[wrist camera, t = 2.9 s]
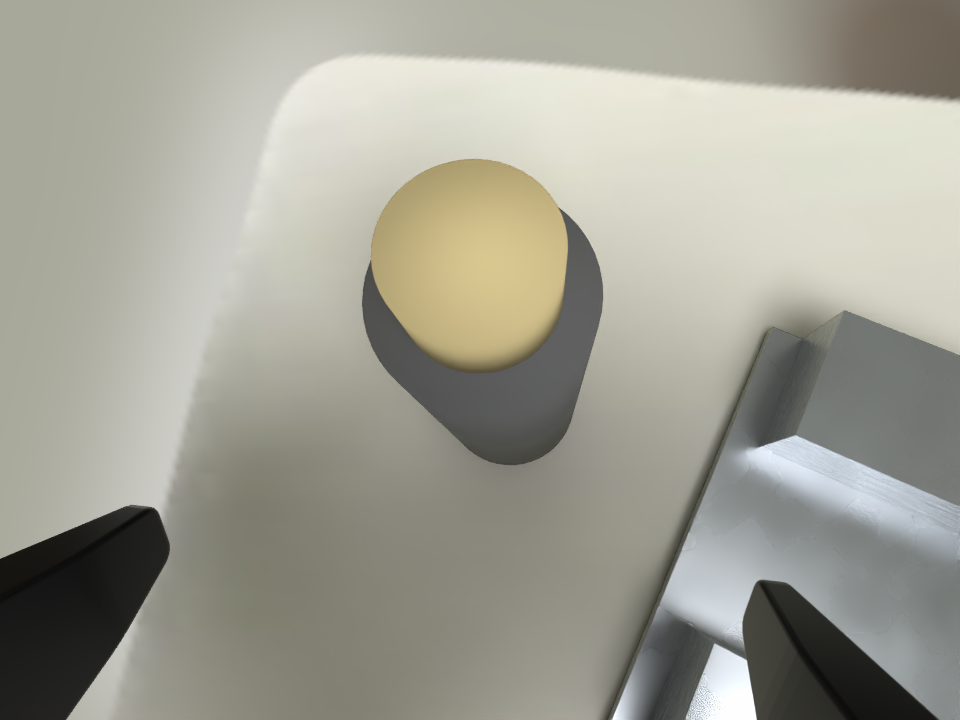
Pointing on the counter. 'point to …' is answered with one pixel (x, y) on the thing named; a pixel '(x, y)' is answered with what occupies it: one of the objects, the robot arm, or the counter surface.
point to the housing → (820, 523)
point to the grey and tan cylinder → (484, 305)
